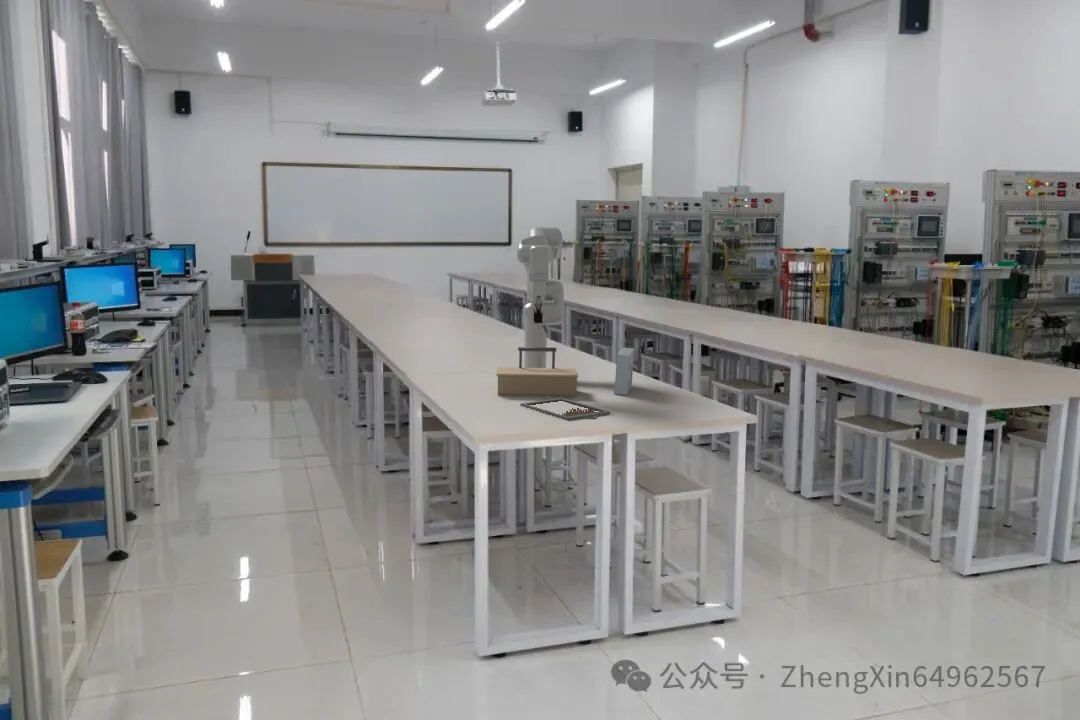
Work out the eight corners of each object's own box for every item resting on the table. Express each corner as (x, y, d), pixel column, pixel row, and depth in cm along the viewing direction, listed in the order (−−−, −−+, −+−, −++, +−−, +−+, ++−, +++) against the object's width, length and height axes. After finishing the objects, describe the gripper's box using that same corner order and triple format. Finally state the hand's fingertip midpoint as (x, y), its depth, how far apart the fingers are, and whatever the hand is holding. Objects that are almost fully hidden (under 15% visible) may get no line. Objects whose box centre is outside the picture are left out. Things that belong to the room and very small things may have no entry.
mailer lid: (497, 369, 339) (497, 346, 338) (575, 370, 340) (576, 347, 338) (496, 375, 324) (496, 352, 322) (578, 377, 325) (579, 353, 323)
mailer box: (498, 388, 339) (498, 369, 338) (574, 390, 340) (574, 371, 339) (497, 395, 325) (497, 376, 324) (576, 397, 326) (577, 377, 325)
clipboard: (561, 397, 320) (615, 412, 296) (561, 402, 320) (615, 417, 296) (519, 403, 308) (572, 419, 284) (519, 407, 308) (572, 424, 285)
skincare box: (627, 395, 332) (629, 355, 329) (613, 394, 333) (615, 354, 330) (633, 385, 352) (634, 347, 349) (619, 385, 353) (621, 347, 351)
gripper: (528, 276, 341) (528, 319, 344) (529, 278, 324) (528, 323, 327) (547, 276, 341) (546, 319, 344) (549, 279, 324) (548, 324, 327)
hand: (537, 321), depth 335 cm, fingers open, 9 cm apart
